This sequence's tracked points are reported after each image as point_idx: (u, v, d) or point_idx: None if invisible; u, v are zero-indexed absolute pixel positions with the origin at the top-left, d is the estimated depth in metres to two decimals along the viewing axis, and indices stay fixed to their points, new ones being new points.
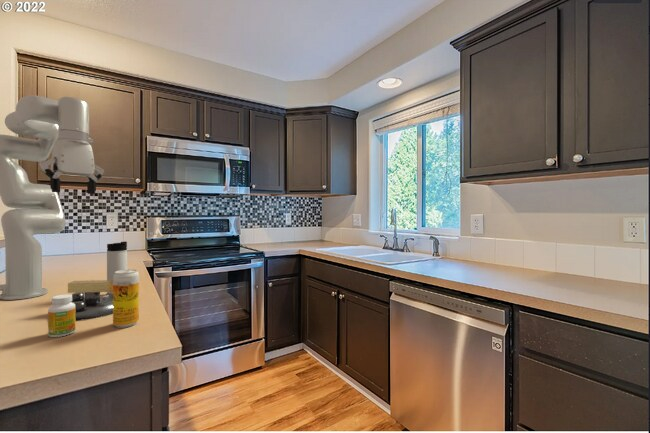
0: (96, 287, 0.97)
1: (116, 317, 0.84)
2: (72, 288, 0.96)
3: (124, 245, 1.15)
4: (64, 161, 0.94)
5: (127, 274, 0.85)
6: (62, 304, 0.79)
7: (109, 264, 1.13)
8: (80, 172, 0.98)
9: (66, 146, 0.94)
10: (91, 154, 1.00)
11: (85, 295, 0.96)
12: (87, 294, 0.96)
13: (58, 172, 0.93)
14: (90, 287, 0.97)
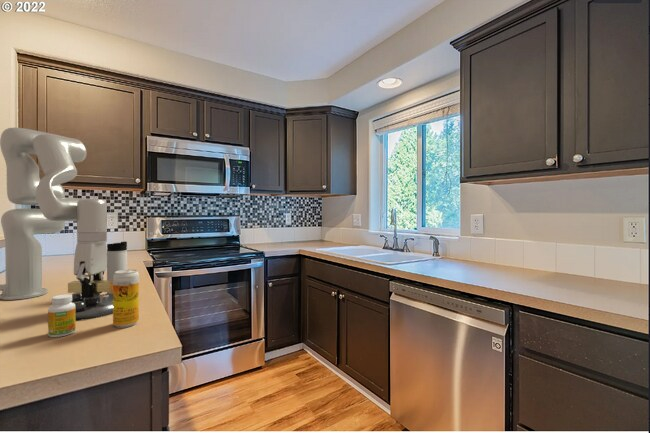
0: (96, 287, 0.97)
1: (116, 317, 0.84)
2: (72, 288, 0.96)
3: (124, 245, 1.15)
4: (93, 264, 0.95)
5: (127, 274, 0.85)
6: (62, 304, 0.79)
7: (109, 264, 1.13)
8: (100, 270, 0.99)
9: (94, 249, 0.95)
10: (106, 249, 1.02)
11: None
12: None
13: (91, 278, 0.95)
14: None
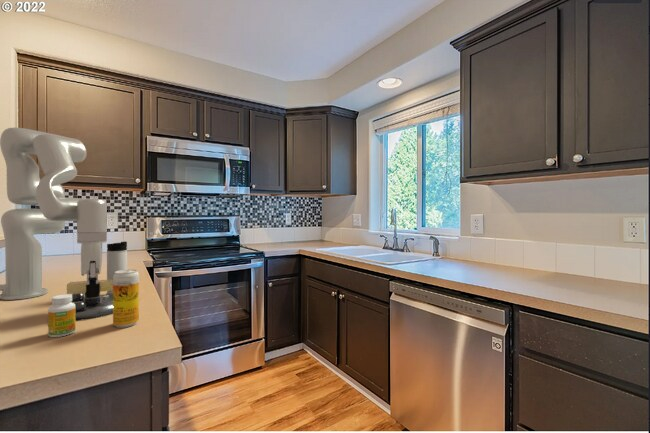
0: None
1: (116, 317, 0.84)
2: (72, 289, 0.95)
3: (124, 245, 1.15)
4: (101, 263, 0.96)
5: (127, 274, 0.85)
6: (62, 304, 0.79)
7: (109, 264, 1.13)
8: None
9: (101, 248, 0.97)
10: None
11: None
12: None
13: None
14: None
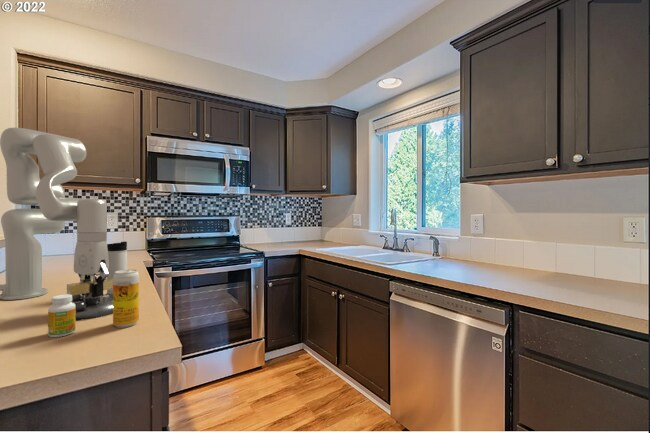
0: None
1: (116, 317, 0.84)
2: (75, 290, 0.94)
3: (124, 245, 1.15)
4: None
5: (127, 274, 0.85)
6: (62, 304, 0.79)
7: (109, 264, 1.13)
8: None
9: None
10: None
11: (90, 295, 0.96)
12: None
13: None
14: None
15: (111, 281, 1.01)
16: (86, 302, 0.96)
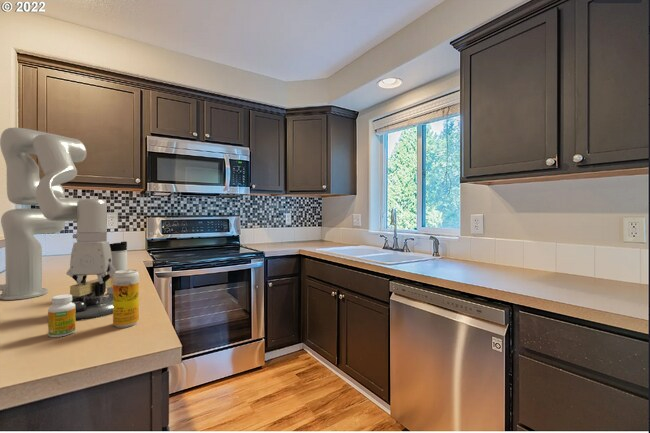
0: None
1: (116, 317, 0.84)
2: (83, 290, 0.93)
3: (124, 245, 1.15)
4: None
5: (127, 274, 0.85)
6: (62, 304, 0.79)
7: None
8: None
9: None
10: None
11: (94, 295, 0.97)
12: (96, 293, 0.98)
13: None
14: None
15: (109, 280, 1.03)
16: (89, 302, 0.96)
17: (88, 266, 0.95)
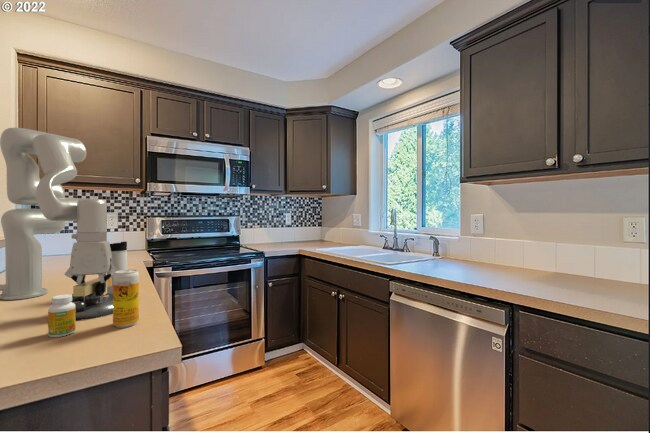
0: None
1: (116, 317, 0.84)
2: (87, 290, 0.94)
3: (124, 245, 1.15)
4: None
5: (127, 274, 0.85)
6: (62, 304, 0.79)
7: None
8: None
9: None
10: None
11: (95, 294, 0.97)
12: None
13: None
14: None
15: None
16: (91, 302, 0.97)
17: (90, 266, 0.95)
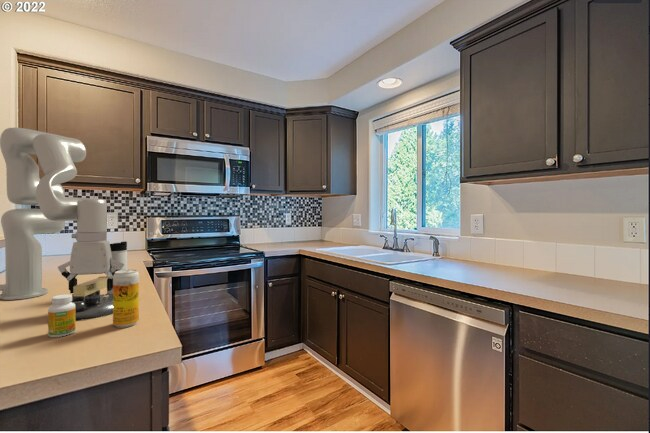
0: (101, 284, 1.00)
1: (116, 317, 0.84)
2: (88, 290, 0.94)
3: (124, 245, 1.15)
4: None
5: (127, 274, 0.85)
6: (62, 304, 0.79)
7: None
8: None
9: None
10: None
11: (95, 294, 0.97)
12: (98, 293, 0.98)
13: None
14: (98, 286, 0.99)
15: (106, 279, 1.03)
16: (91, 302, 0.97)
17: (90, 265, 0.96)
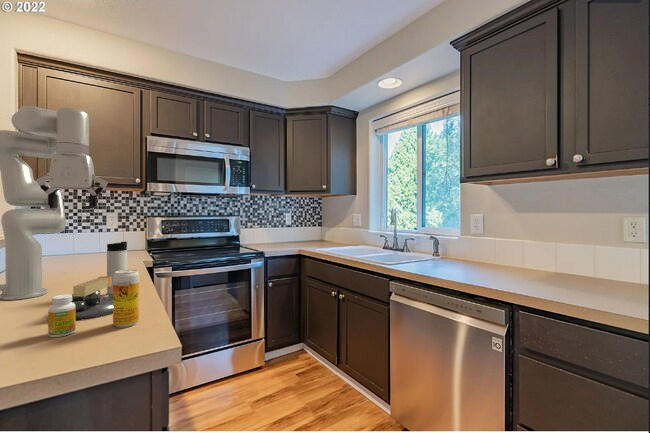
0: (101, 284, 1.00)
1: (116, 317, 0.84)
2: (88, 290, 0.94)
3: (124, 245, 1.15)
4: None
5: (127, 274, 0.85)
6: (62, 304, 0.79)
7: (109, 264, 1.13)
8: None
9: None
10: None
11: (95, 294, 0.97)
12: (98, 293, 0.98)
13: None
14: (98, 286, 0.99)
15: (106, 279, 1.03)
16: (91, 302, 0.97)
17: (70, 179, 0.90)
